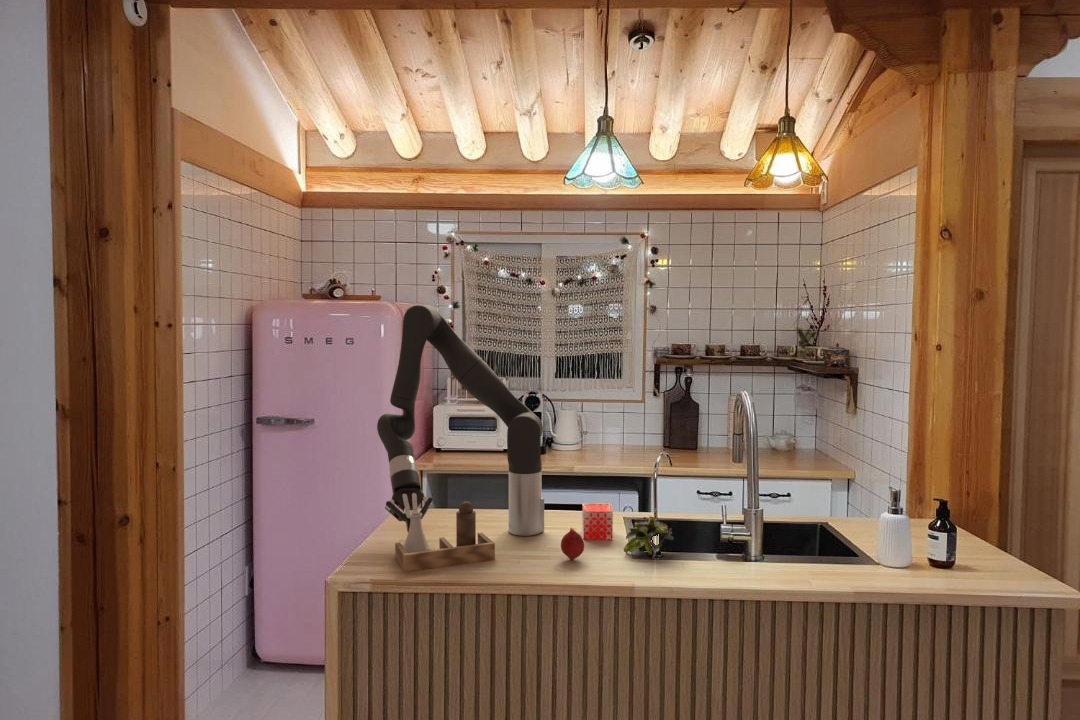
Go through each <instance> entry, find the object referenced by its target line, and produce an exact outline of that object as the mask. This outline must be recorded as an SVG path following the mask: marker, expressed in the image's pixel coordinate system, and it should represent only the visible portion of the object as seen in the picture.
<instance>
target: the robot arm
mask: <svg viewBox="0 0 1080 720" xmlns="http://www.w3.org/2000/svg"><path fill="white" fill-rule="evenodd" d="M401 329H402V331H401V345H400V351H399V359H398V365H397V369H396V374H395V378H394V381H393V382H394V383H393V387H392V390H391V394H390V398H389V402H390V405H391V406H393V407H395V408H396V409H397V408H398V409H399V410H402V414H393V413H384V414H381V416H380V417H379V418H378V420H377V425H376V430H377V434H378V436H379V439H380V441H381V443H382V445H383V447H384V448H385V449H384V450H385V451H386V453H387V460H388V468H389V470H388V471H389V479H390V485H391V490H392V496H391V499H390V500H387V501H386V502H385V506H384V509H385V510H386V511H387V512H388V513H389V514H391V516H393V517H394V518H395V519H396V520H397V521H399V522H404V523H405V524H406V525H405V526H406V531H407V533H408V532H409V528H410V523H411V517H410V516H409V514H411V513H416V512H417V513H422V516H421V520H423V518H424V517H425V515H426V513H427V512H428V510H429V509H430V507H431V506H432V503H433V498H432V497H427V496H425V493H424V492H423V491H422V486H421V481H420V475H419V470H418V465H417V462H416V458H415V454H414V448H413V444H412V443H411V442H410V441H408V440H410V439H411V438H412V437H413V435H414V434H415V431H416V420H415V415H416V414H415V408H416V401H417V395H418V391H419V387H420V382H421V369H422V368H421V367H422V364H421V363H422V356H423V352H424V348H425V345H426V342H428V343H429V344H430V345H432V346H433V347H434V348H435V350H436V351H437V352H438V353H439V354H440V355H441V356H442V359H443V360H444V362H445V364H446V366H447V367H448V369H449V371H450V373H451V374H452V375H453V377H454V378H455V380H456V381H457V382H458V383H459V384H460V385H461V386H462V387H463V388H464V390H465V391H467V392H468V393H469V395H470V396H472V397H473V398H474V399H476V400H477V401H479V402H480V403H481V404H483V405H484V406H486V407H487V408H488V409H490V410H492V412H494V413H495V414H496V415H497V416H498V417H499V419H500V420H501V421H502V422H503V424H505V426H506V428H507V430H506V431H507V432H506V443H507V444H506V446H507V447H506V448H507V449H506V450H507V451H506V453H507V455H506V457H507V463H508V532H509V533H510V534H512V535H514V536H522V537H526V536H527V537H528V536H529V537H530V536H536V535H539V534H541V533H544V532H545V498H544V497H543V496H542V493H543V492H542V491H543V490H542V488H543V487H542V481H543V480H542V479H543V478H542V475H543V474H542V473H543V472H542V470H543V469H542V465H543V462H542V455H541V440H542V439H541V437H542V434H543V432H544V431H543V429H544V428H543V422H542V420H541V419H540V417H539V416H537V414H535V413H534V412H533V411H532V410H531V409H529V408H528V407H527V406H526V405H525V404H524V403H523V402H521V401H520V400H519V399H518V398H517V397H516V396H515V395H514V394H513V393H512V391H511V390H510V389H509V388H508V387H507V386H506V384H505V383H504V382H503V381H502V379H501V378H500V377H499V375H497V374H496V372H495V371H494V370H493V368H491V367H490V366H489V364H487V363H486V362H485V361H484V360H483V358H482V357H481V356H479V354H477V352H475V350H473V349H472V348H471V347H470V345H468V343H466V341H464V340H463V339H461V337H460V336H459V335H458V334H457V333H456V332H455V330H454V329H453V328H452V327H451V325H450V324H449V323H448V321H447V320H446V319H445V318H444V316H443V315H442V314H441V312H440V311H439V310H438V309H437V308H436V307H434V306H433V305H431V304H421V303H419V304H415V305H412V306H410V307H409V308H407V309H406V311H405V312H404V315H403V320H402V328H401ZM421 504H422V505H423V506H422V508H421V509H420V511H419V512H418V508H419V507H420V505H421ZM397 507H398V508H397Z"/></svg>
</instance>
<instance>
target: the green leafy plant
mask: <svg viewBox="0 0 1080 720" xmlns="http://www.w3.org/2000/svg"><path fill="white" fill-rule="evenodd" d="M655 518H657V520H655ZM643 520H644V521H642V520H640V522H635V523H634V527H629V528H628V529H629V531H630V532H629V531H628V532H627V534H626V537H625V540H627V539H629V538H631V537H633V538H632V539H629V541H628V542H627V543H626V544H625V547H624V548H623V552H624V553H625V554H626V555H627V554H628V553H629V552H630V553H632V552H635V551H637V550H638V549H640V548H642V547H644V546H645V547H644V548H645V550H646V551H647V553H648V554H650V555H652V558H651V560H653V559H654V558H655V555H656V552H657V551H658V549H659V548H661V547H662V546H663V542H664V541H665V539H666V540H669V541H674V536H673V535H672V534H673V532H672V531H673V527H670V528H669V526H668V525H667V524H666V523H664V522H662V521H659V518H658V517H654V516H648V517H647V516H644V517H643ZM658 534H659V544H658V545H655V544H654V543H653V540H652V537H653V536H656V535H657V536H658ZM634 536H635V537H634ZM651 540H652V542H651ZM651 545H652V546H651Z"/></svg>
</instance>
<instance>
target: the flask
mask: <svg viewBox="0 0 1080 720" xmlns="http://www.w3.org/2000/svg"><path fill="white" fill-rule="evenodd" d="M410 513H411V512H410ZM409 516H410V517H411V523H410V528H409V532H407V536H406V539H405V542H404V544H403V545H402V546H403V547H404V549H405V550H406V551H407V553H413V552H421V551H428V550H431V548H430V547H429V544H428V541H427V539H426V536H425V533H424V529H423V526H422V525H423V524H422V519H421V516H422V513H419V512H418V511H417V512H416V513H411V514H409Z"/></svg>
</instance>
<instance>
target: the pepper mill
mask: <svg viewBox="0 0 1080 720" xmlns="http://www.w3.org/2000/svg"><path fill="white" fill-rule="evenodd" d="M476 513H477V512H476V511H475V510H474V506H473V504H472V502H470V501H468V500H467V501H465V500H464V501H462V502H461V503H460V504H459V506H458V511H456V517H455V518H456V520H455V521H456V526H455V527H456V534H455V535H456V537H455V538H456V541H455V543H456V544H455V545H456V546H455V547H459V546H467V545H474V544H477V543H476V542H477V541H476V539H477V537H476V536H477V535H476V531H477V530H476V527H477V526H476V525H477V523H476V522H477V521H476V520H477V519H476V517H477V515H476Z"/></svg>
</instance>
